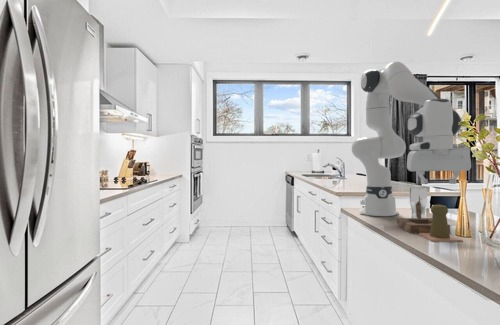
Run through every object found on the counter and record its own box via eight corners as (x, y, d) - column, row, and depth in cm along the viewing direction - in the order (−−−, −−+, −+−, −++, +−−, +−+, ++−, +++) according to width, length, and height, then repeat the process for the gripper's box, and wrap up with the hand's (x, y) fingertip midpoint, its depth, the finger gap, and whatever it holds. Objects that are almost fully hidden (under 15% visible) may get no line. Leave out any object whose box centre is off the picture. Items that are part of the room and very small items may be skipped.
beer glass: (430, 221, 139) (430, 187, 139) (423, 223, 135) (422, 188, 135) (414, 219, 145) (413, 186, 145) (406, 221, 141) (406, 187, 140)
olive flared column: (452, 238, 108) (452, 206, 108) (432, 237, 109) (432, 206, 109) (446, 234, 114) (445, 203, 114) (427, 233, 115) (427, 203, 115)
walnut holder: (397, 225, 133) (397, 218, 133) (432, 225, 132) (431, 218, 132) (410, 233, 119) (410, 225, 119) (450, 233, 118) (450, 225, 118)
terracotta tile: (418, 234, 117) (418, 232, 117) (447, 234, 116) (447, 232, 116) (431, 241, 107) (431, 239, 107) (462, 241, 106) (462, 239, 106)
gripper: (464, 144, 113) (464, 182, 114) (404, 145, 115) (405, 183, 116) (475, 143, 107) (475, 184, 107) (412, 145, 109) (412, 185, 109)
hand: (438, 183), depth 112 cm, fingers open, 8 cm apart
